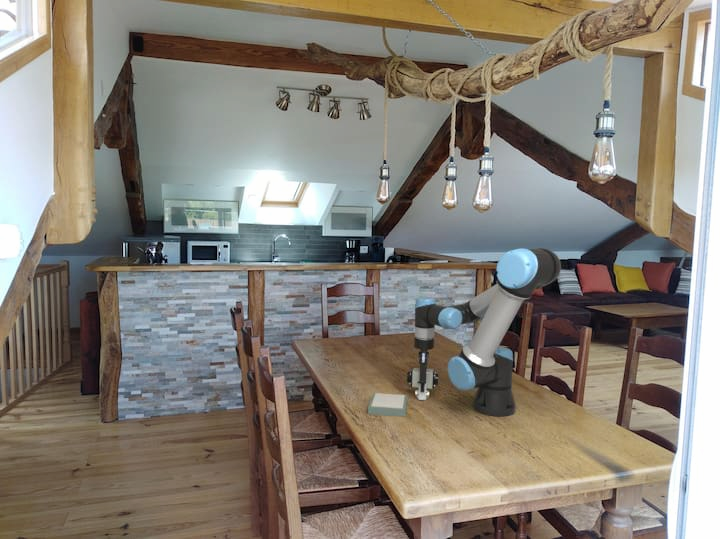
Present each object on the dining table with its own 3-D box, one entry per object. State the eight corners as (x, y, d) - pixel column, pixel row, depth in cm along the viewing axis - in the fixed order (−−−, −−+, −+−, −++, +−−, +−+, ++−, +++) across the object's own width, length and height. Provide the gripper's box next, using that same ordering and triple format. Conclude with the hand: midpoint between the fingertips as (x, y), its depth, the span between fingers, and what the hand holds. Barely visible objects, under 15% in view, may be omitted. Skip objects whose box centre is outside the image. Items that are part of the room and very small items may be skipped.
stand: (407, 401, 194) (407, 394, 194) (405, 416, 179) (405, 408, 179) (373, 399, 196) (373, 392, 195) (368, 414, 181) (368, 406, 181)
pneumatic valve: (437, 401, 195) (438, 370, 194) (406, 398, 197) (407, 367, 196) (438, 396, 200) (439, 366, 199) (408, 393, 202) (408, 363, 201)
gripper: (415, 331, 206) (413, 387, 209) (413, 343, 187) (411, 404, 189) (434, 332, 205) (432, 388, 208) (434, 344, 186) (432, 406, 188)
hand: (422, 396), depth 199 cm, fingers open, 7 cm apart
